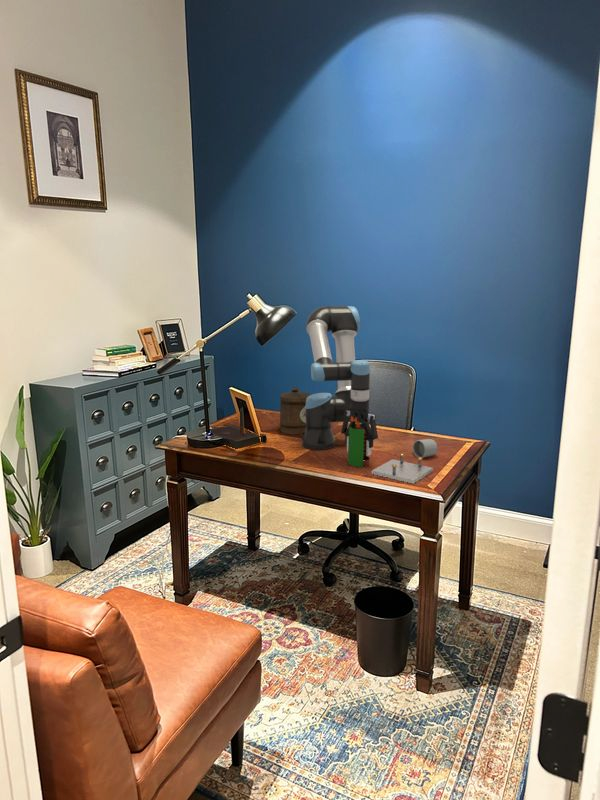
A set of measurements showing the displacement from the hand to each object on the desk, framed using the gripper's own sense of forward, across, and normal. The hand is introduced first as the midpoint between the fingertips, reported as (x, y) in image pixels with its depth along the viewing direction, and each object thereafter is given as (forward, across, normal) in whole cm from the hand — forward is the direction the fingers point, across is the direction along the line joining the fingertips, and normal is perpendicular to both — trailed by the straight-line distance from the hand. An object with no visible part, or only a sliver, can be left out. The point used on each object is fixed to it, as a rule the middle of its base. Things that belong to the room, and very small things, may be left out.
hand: (358, 452), depth 248 cm
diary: (+5, -63, -7) cm, 64 cm away
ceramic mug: (+5, +17, +24) cm, 30 cm away
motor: (+5, 0, 0) cm, 5 cm away
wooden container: (+5, -51, +24) cm, 57 cm away
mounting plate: (+4, +20, 0) cm, 20 cm away
